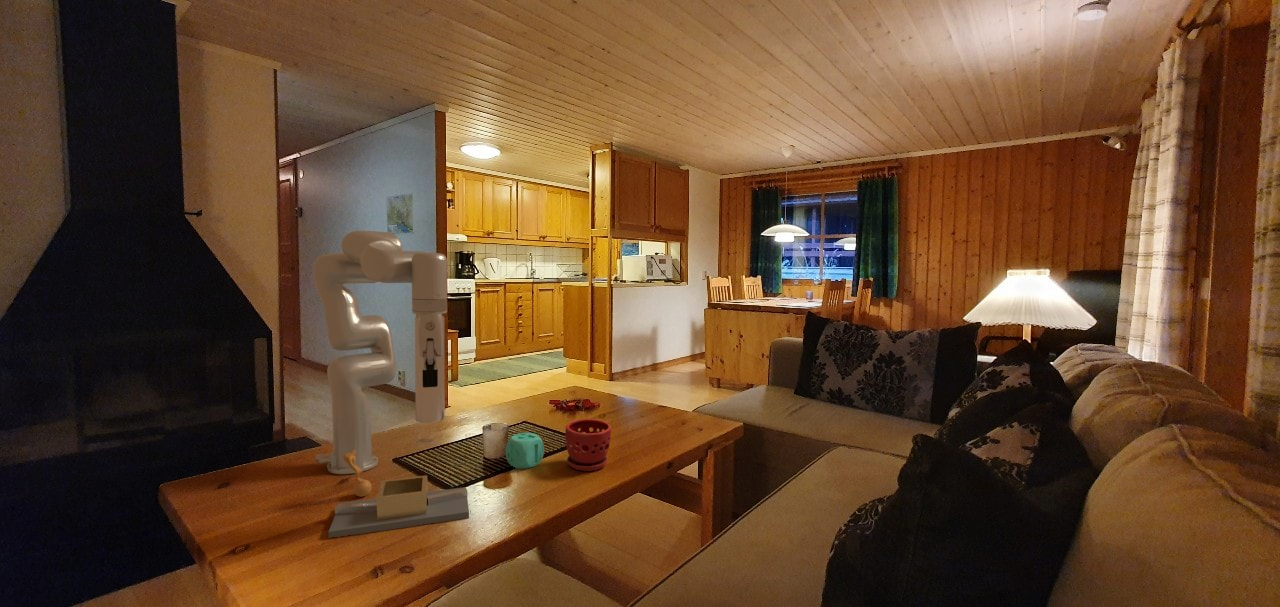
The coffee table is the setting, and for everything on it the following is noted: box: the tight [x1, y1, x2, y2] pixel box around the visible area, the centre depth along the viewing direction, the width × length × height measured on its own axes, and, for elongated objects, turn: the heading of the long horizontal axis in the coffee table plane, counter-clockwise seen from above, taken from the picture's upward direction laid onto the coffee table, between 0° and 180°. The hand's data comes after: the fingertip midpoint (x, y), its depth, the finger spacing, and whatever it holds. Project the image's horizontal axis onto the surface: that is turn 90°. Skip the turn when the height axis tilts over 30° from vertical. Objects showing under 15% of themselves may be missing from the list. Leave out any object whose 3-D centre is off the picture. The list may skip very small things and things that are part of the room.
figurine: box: [343, 450, 373, 498], centre depth 130 cm, size 8×6×12 cm
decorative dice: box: [504, 432, 545, 470], centre depth 153 cm, size 8×8×8 cm
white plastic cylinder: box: [414, 314, 446, 424], centre depth 123 cm, size 6×6×25 cm
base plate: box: [328, 486, 470, 539], centre depth 122 cm, size 28×14×2 cm, turn 111°
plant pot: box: [565, 418, 612, 472], centre depth 153 cm, size 13×13×12 cm
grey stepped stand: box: [334, 475, 468, 521], centre depth 122 cm, size 28×10×5 cm, turn 111°
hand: (429, 382), depth 123 cm, fingers closed on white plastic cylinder, 5 cm apart
